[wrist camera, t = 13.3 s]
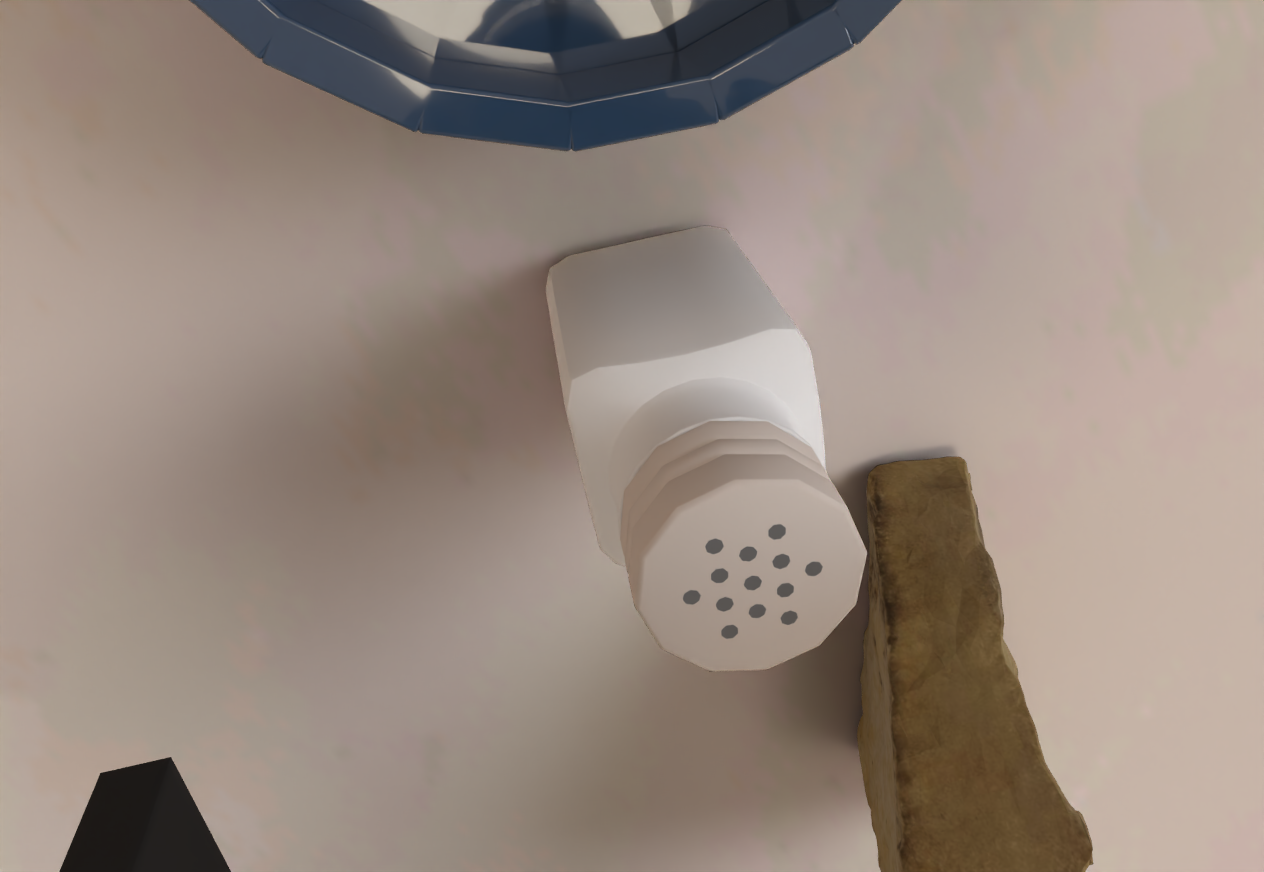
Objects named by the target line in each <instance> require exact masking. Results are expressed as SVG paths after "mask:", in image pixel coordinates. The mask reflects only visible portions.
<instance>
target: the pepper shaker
mask: <svg viewBox="0 0 1264 872" xmlns="http://www.w3.org/2000/svg"><path fill="white" fill-rule="evenodd" d="M546 296H547V302H548V308H549V314H550V320H551V326H552V332H553V338H554V344H555V351H556V357H557V363H558V369H559V375H560V381H561V387H562V393H563V399H564V405H565V409H566V414H567V418H568V422H569V426H570V430H571V435H572V439H573V443H574V447H575V451H576V456H577V460H578V464H579V468H580V472H581V476H582V480H583V484H584V488H585V492H586V496H587V500H588V504H589V508H590V512H591V516H592V520H593V524H594V528H595V532H596V536H597V539H598V543H599V547H600V549H601V550H602V551H603V552H604V553H605V554H606V555H607V556H608V557H609V558H610V559H611V560H612V561H613V562H614V563H616V564H619V565H622V566H626V569H627V572H628V574H629V577H628V578H629V583H630V587H631V592H632V597H633V601H634V606H635V608H636V610H637V611H638V613H639V614H640V616H641V618H642V619H643V621H644V623H645V624H646V626H647V627H648V629H649V631H650V632H651V634H652V635H653V637H654V639H655V640H656V642H657V643H658V645H659V647H660V648H661V649H662V650H664V651H666V652H668V653H671V654H673V655H675V656H677V657H679V658H681V659H684V660H686V661H688V662H690V663H692V664H694V665H697V666H699V667H701V668H703V669H705V670H707V671H710V672H712V671H747V670H767V669H770V668H772V667H774V666H776V665H778V664H781V663H783V662H785V661H787V660H789V659H791V658H794V657H796V656H798V655H800V654H802V653H805V652H807V651H809V650H811V649H813V648H816V647H818V646H820V644H821V643H822V642H823V641H824V640H825V639H826V638H827V637H828V635H829V634H830V633H831V632H832V631H833V630H834V629H835V628H836V626H837V625H838V624H839V623H840V622H841V621H842V620H843V619H844V617H845V616H846V615H847V614H848V613H849V612H850V611H851V610H852V608H853V607H854V606H855V605H856V602H857V598H858V593H859V589H860V584H861V579H862V575H863V570H864V566H865V561H866V556H867V550H866V548H865V546H864V544H863V541H862V539H861V537H860V535H859V533H858V530H857V528H856V526H855V524H854V521H853V519H852V517H851V515H850V512H849V510H848V508H847V506H846V504H845V503H844V501H843V499H842V498H841V496H840V494H839V493H838V491H837V489H836V488H835V486H834V484H833V482H832V481H831V480H830V478H829V476H828V474H827V472H826V461H825V448H824V436H823V426H822V419H821V411H820V403H819V396H818V389H817V384H816V378H815V372H814V366H813V360H812V354H811V349H810V347H809V346H808V344H807V342H806V341H805V339H804V338H803V336H802V335H801V333H800V332H799V330H798V328H797V327H796V325H795V324H794V322H793V321H792V320H791V318H790V317H789V315H788V314H787V313H786V311H785V310H784V309H783V307H782V306H781V304H780V303H779V302H778V300H777V299H776V297H775V296H774V295H773V293H772V292H771V291H770V289H769V288H768V286H767V285H766V284H765V282H764V281H763V279H762V278H761V277H760V275H759V274H758V272H757V271H756V270H755V268H754V267H753V266H752V264H751V263H750V261H749V260H748V259H747V257H746V256H745V254H744V253H743V252H742V250H741V249H740V248H739V246H738V245H737V243H736V242H735V241H734V239H733V238H732V236H731V235H730V234H729V232H728V231H727V229H722V228H716V227H710V226H700V227H696V228H691V229H687V230H682V231H678V232H673V233H669V234H664V235H660V236H655V237H651V238H646V239H642V240H637V241H633V242H628V243H624V244H619V245H615V246H610V247H606V248H602V249H597V250H593V251H588V252H584V253H579V254H575V255H570V256H567V257H566V258H565V259H563V260H562V261H560V262H559V263H557V264H556V265H554V266H552V267H551V268H550V269H549V274H548V280H547V285H546Z"/></svg>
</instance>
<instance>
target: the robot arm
mask: <svg viewBox="0 0 1264 872" xmlns="http://www.w3.org/2000/svg"><path fill="white" fill-rule="evenodd" d="M60 872H231V871H230V869H229V867H228V865H227V863H226V861H225V859H224V857H223V855H222V854H221V852H220V850H219V848H218V846H217V844H216V842H215V840H214V838H213V836H212V834H211V833H210V831H209V829H208V827H207V825H206V823H205V821H204V819H203V817H202V815H201V813H200V812H199V810H198V808H197V806H196V804H195V802H194V800H193V798H192V796H191V794H190V792H189V791H188V789H187V787H186V785H185V783H184V781H183V779H182V777H181V775H180V773H179V771H178V770H177V768H176V766H175V764H174V762H173V760H172V758H171V757H169V758H165V759H160V760H156V761H152V762H147V763H143V764H139V765H134V766H130V767H125V768H121V769H117V770H112V771H108V772H103V773H100V776H99V778H98V780H97V783H96V785H95V788H94V790H93V792H92V795H91V797H90V800H89V802H88V804H87V807H86V809H85V812H84V814H83V816H82V819H81V821H80V824H79V826H78V828H77V831H76V833H75V836H74V838H73V840H72V843H71V845H70V848H69V850H68V852H67V855H66V857H65V860H64V862H63V864H62V867H61V869H60Z"/></svg>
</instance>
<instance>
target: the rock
mask: <svg viewBox="0 0 1264 872" xmlns="http://www.w3.org/2000/svg"><path fill="white" fill-rule="evenodd" d="M971 491H972V487H971V483H970V473H968V469H967V463H966V462H965V460H964V459H962V458H961V457H943V458H936V459H927V460H911V461H896V462H892V463H888V464H883V465H878V466H876V467H875V468H874V469H873V470H872V471H871V472H870V473H869V475H868V484H867V518H868V534H869V542H870V545H869V555H870V559H869V579H868V592H869V601H870V608H869V623H868V627H867V629H866V631H865V632H864V640H863V651H864V663H863V668H862V672H861V676H860V682H861V684H862V700H861V703H862V708H863V715H862V717H861V719H860V722H859V726H858V730H857V741H858V750H859V756H860V762H861V767H862V773H863V780H864V786H865V792H866V797H867V801H868V805H869V807H870V809H871V819H872V827H873V830H874V833H875V835H876V839H877V846H878V862H879V867H880V870H881V872H1085V871H1086V869H1087V868H1088V866H1089V865H1092V864H1093V858H1092V850H1093V848H1092V841H1091V838H1090V835H1089V832H1088V828H1087V825H1086V823H1085V821H1084V818H1083V816H1082V814H1081V813H1080V812H1079V811H1075V810H1074V808H1073V807H1072V806H1071V805H1070V804H1069V803H1068V801H1067V799H1066V798H1065V796H1064V794H1063V793H1062V791H1061V789H1060V787H1059V786H1058V784H1057V782H1056V780H1055V778H1054V777H1053V775H1052V773H1051V772H1050V770H1049V769H1048V767H1047V765H1046V763H1045V760H1044V757H1043V753H1042V750H1041V747H1040V744H1039V740H1038V735H1037V731H1036V727H1035V725H1034V722H1033V720H1032V717H1031V715H1030V713H1029V710H1028V708H1027V706H1026V702H1025V698H1024V694H1023V691H1022V688H1021V685H1020V682H1019V680H1018V669H1017V666H1016V663H1015V661H1014V659H1013V657H1012V655H1011V653H1010V651H1009V649H1008V647H1007V645H1006V644H1005V642H1004V640H1003V627H1004V615H1003V609H1002V598H1001V588H1000V584H999V581H998V578H997V574H996V571H995V568H994V564H993V561H992V558H991V557H990V555H989V554H988V553H987V551H986V550H985V546H984V540H983V535H982V530H981V526H980V523H979V519H978V508H977V505H976V503H975V500H974V497H973V494H972V492H971Z"/></svg>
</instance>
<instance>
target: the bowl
mask: <svg viewBox="0 0 1264 872" xmlns="http://www.w3.org/2000/svg"><path fill="white" fill-rule="evenodd" d="M189 1H190V2H191V3H193V4H194V5H195V6H196V7H197V8H198V9H200V10H201V11H202V12H203V13H204V14H205V15H207V16H208V17H209V18H210V19H211V20H213V21H214V22H215V23H216V24H217V25H218V26H220V27H221V28H222V29H223V30H224V31H225V32H227V33H228V34H229V35H230V36H231V37H233V38H234V39H235V40H236V41H237V42H238V43H240V44H241V45H242V46H243V47H244V48H245V49H247V50H248V51H249V52H250V53H251V54H253V55H254V56H255V57H256V58H259V59H262V62H263V63H264V64H265V65H268V66H270V67H272V68H274V69H276V70H279V71H281V72H283V73H285V74H287V75H290V76H292V77H294V78H296V79H298V80H301V81H303V82H305V83H307V84H309V85H312V86H314V87H316V88H318V89H320V90H323V91H325V92H327V93H329V94H331V95H334V96H336V97H338V98H340V99H342V100H345V101H347V102H349V103H351V104H353V105H356V106H358V107H360V108H362V109H364V110H367V111H369V112H371V113H373V114H375V115H378V116H380V117H382V118H384V119H386V120H389V121H391V122H393V123H395V124H397V125H400V126H402V127H404V128H406V129H408V130H411V131H413V132H417V131H419V132H420V133H422V134H429V135H437V136H445V137H453V138H462V139H470V140H478V141H486V142H494V143H502V144H510V145H518V146H526V147H534V148H543V149H551V150H559V151H570V150H571V149H572V151H581V150H586V149H591V148H596V147H601V146H606V145H611V144H617V143H622V142H627V141H632V140H637V139H642V138H647V137H652V136H657V135H662V134H667V133H672V132H677V131H682V130H687V129H692V128H697V127H702V126H707V125H712V124H716V123H718V122H719V120H725V119H727V118H729V117H730V116H732V115H734V114H736V113H738V112H739V111H741V110H743V109H745V108H747V107H748V106H750V105H752V104H754V103H756V102H757V101H759V100H761V99H763V98H765V97H766V96H768V95H770V94H772V93H774V92H775V91H777V90H779V89H781V88H783V87H784V86H786V85H788V84H790V83H792V82H793V81H795V80H797V79H799V78H801V77H802V76H804V75H806V74H808V73H810V72H811V71H813V70H815V69H817V68H819V67H820V66H822V65H824V64H826V63H827V62H829V61H831V60H833V59H835V58H836V57H838V56H840V55H842V54H844V53H845V52H847V51H849V50H851V49H852V47H853V46H854V44H856V45H857V44H859V43H861V42H862V40H863V39H864V38H865V37H866V36H867V35H868V34H869V33H870V32H871V31H872V30H873V29H874V28H875V27H876V26H877V25H878V24H879V23H880V22H881V21H882V20H883V19H884V18H885V17H886V16H887V15H888V14H889V13H890V12H891V11H892V10H893V9H894V8H895V7H896V6H897V5H898V4H899V3H900V2H901V1H902V0H189Z"/></svg>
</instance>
